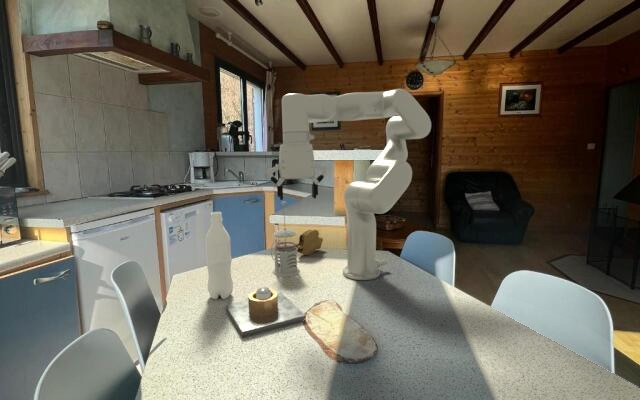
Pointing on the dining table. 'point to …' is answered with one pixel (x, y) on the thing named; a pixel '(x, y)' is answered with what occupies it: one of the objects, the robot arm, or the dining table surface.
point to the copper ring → (263, 304)
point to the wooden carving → (309, 242)
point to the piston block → (260, 324)
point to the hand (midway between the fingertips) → (297, 198)
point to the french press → (285, 253)
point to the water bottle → (218, 258)
